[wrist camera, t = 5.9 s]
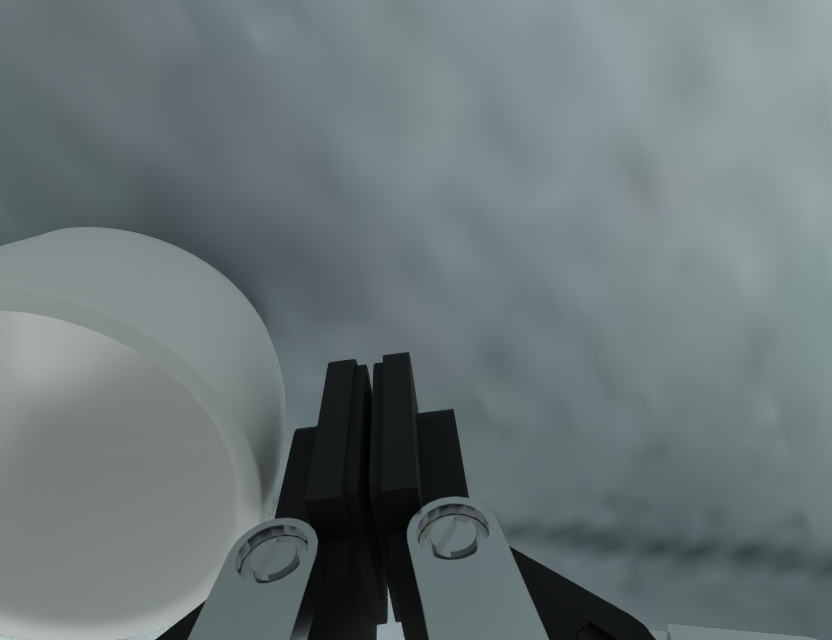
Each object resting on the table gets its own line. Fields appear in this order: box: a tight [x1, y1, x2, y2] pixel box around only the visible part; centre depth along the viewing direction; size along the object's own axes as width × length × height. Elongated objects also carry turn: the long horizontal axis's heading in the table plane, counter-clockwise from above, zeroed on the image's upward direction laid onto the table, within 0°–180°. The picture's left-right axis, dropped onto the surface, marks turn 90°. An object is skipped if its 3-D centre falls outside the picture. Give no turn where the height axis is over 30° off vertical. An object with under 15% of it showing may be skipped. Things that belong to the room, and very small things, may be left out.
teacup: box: [0, 227, 285, 640], centre depth 13 cm, size 10×8×5 cm
